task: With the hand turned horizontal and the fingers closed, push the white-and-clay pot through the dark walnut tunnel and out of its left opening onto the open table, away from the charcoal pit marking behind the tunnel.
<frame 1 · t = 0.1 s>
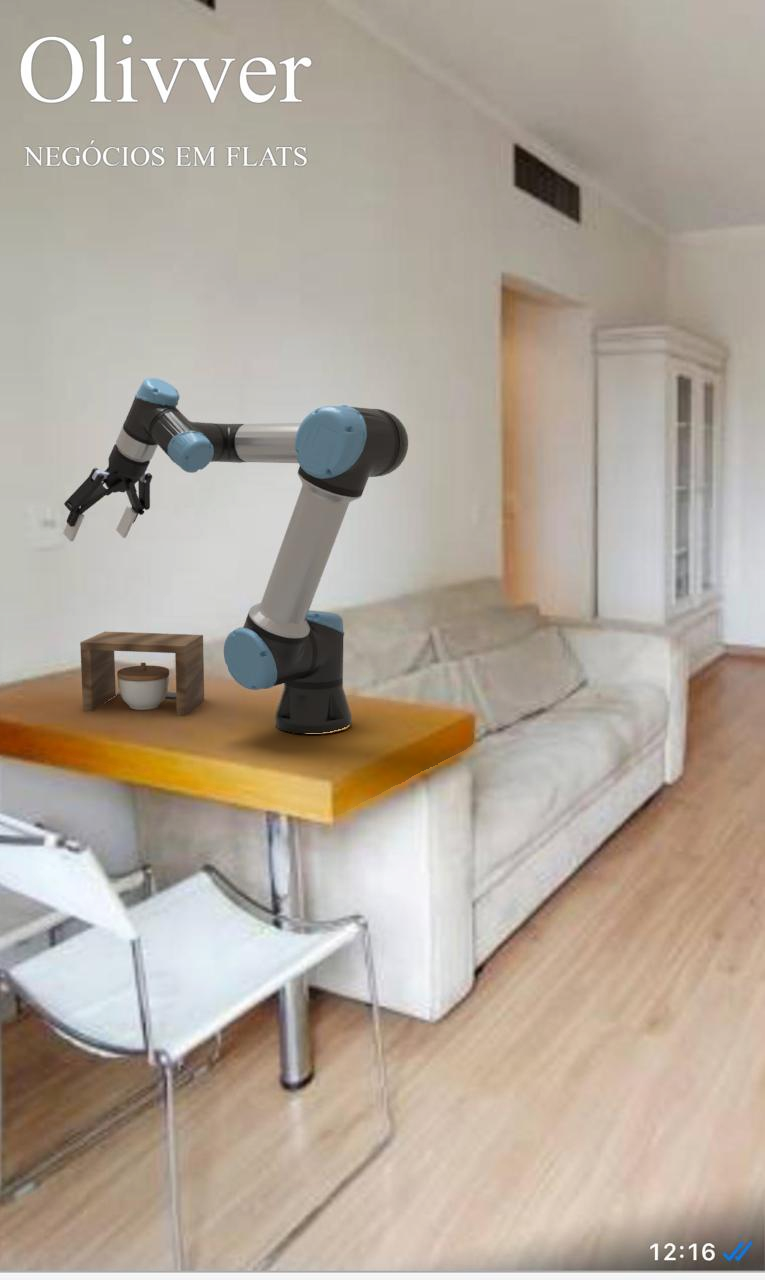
hand: (95, 535, 201), 36 cm above the table, tool tilted 35°, fingers open, 13 cm apart
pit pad: (158, 695, 213), on the table
tunnel: (145, 705, 205), on the table
lidded jar: (144, 707, 205), on the table
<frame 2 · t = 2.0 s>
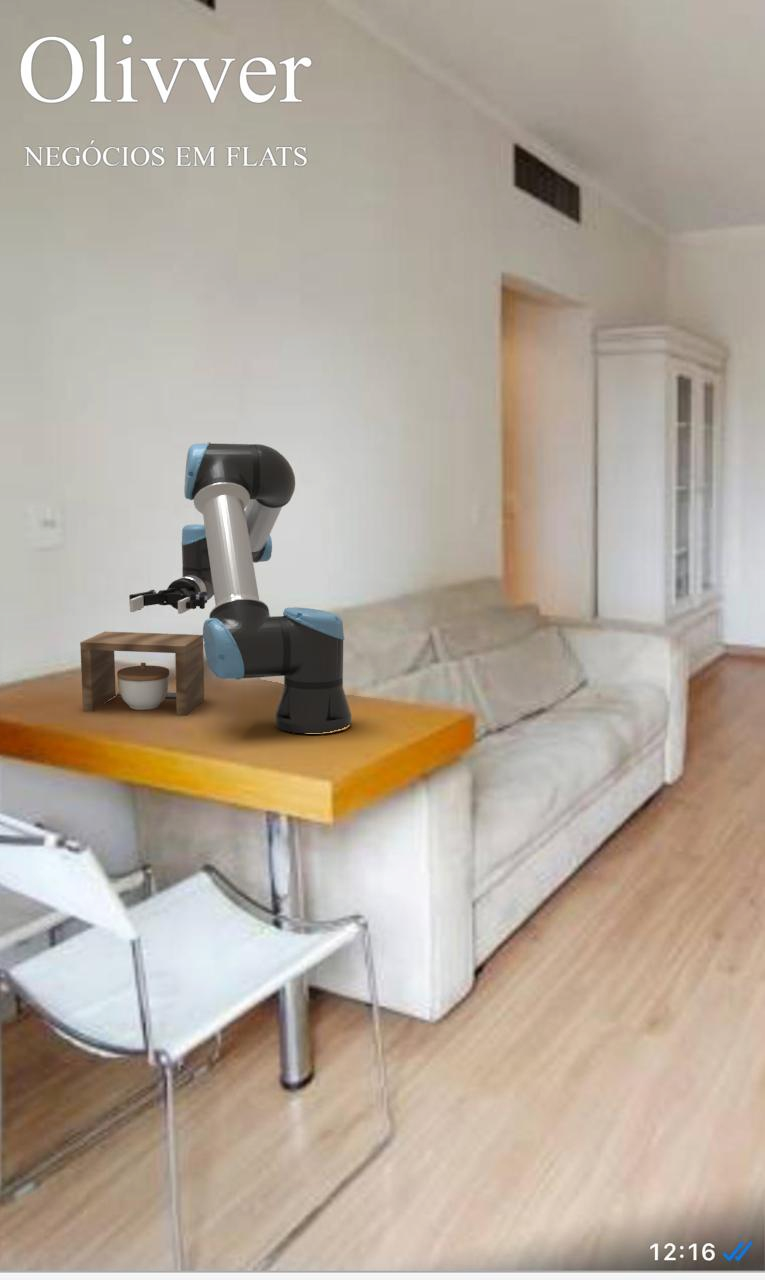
hand: (155, 606, 209), 20 cm above the table, tool horizontal, fingers open, 10 cm apart
nothing on the table moved.
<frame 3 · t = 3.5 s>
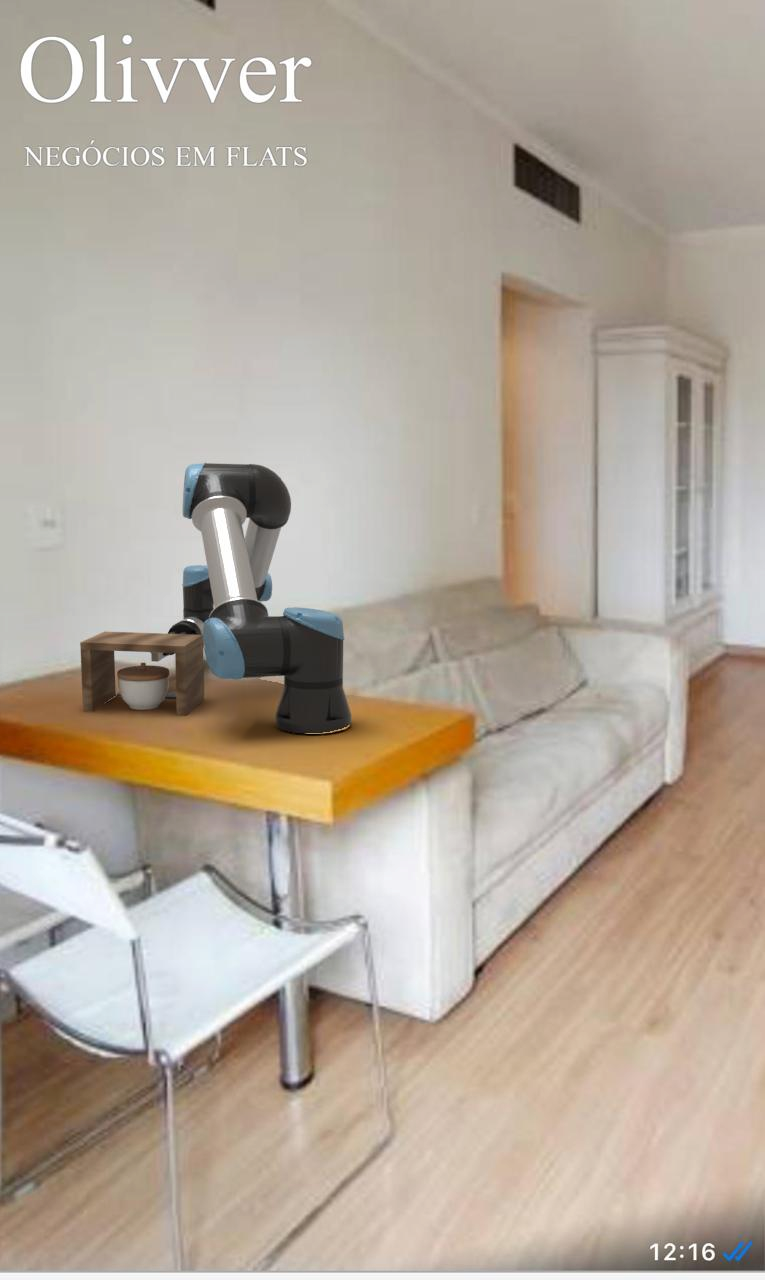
hand: (154, 655, 210), 9 cm above the table, tool horizontal, fingers closed
nothing on the table moved.
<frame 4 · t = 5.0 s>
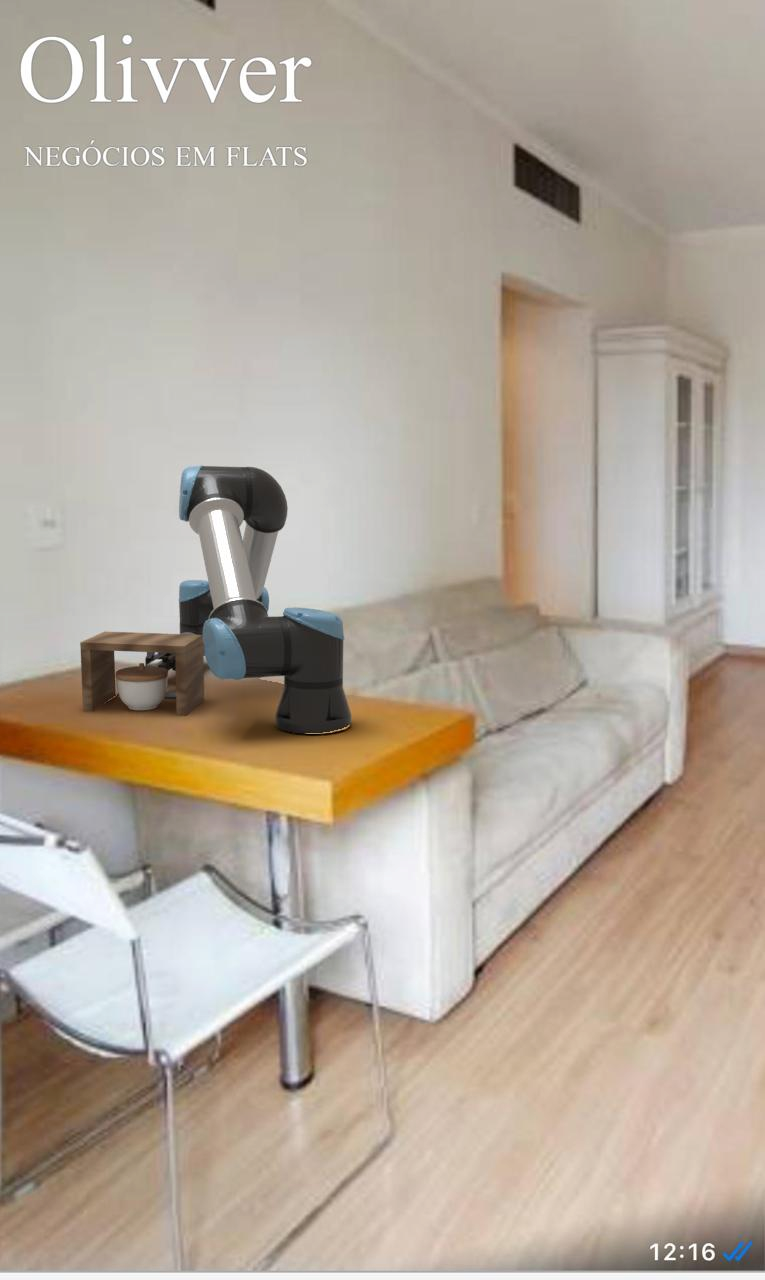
hand: (149, 671, 208), 6 cm above the table, tool horizontal, fingers closed
nothing on the table moved.
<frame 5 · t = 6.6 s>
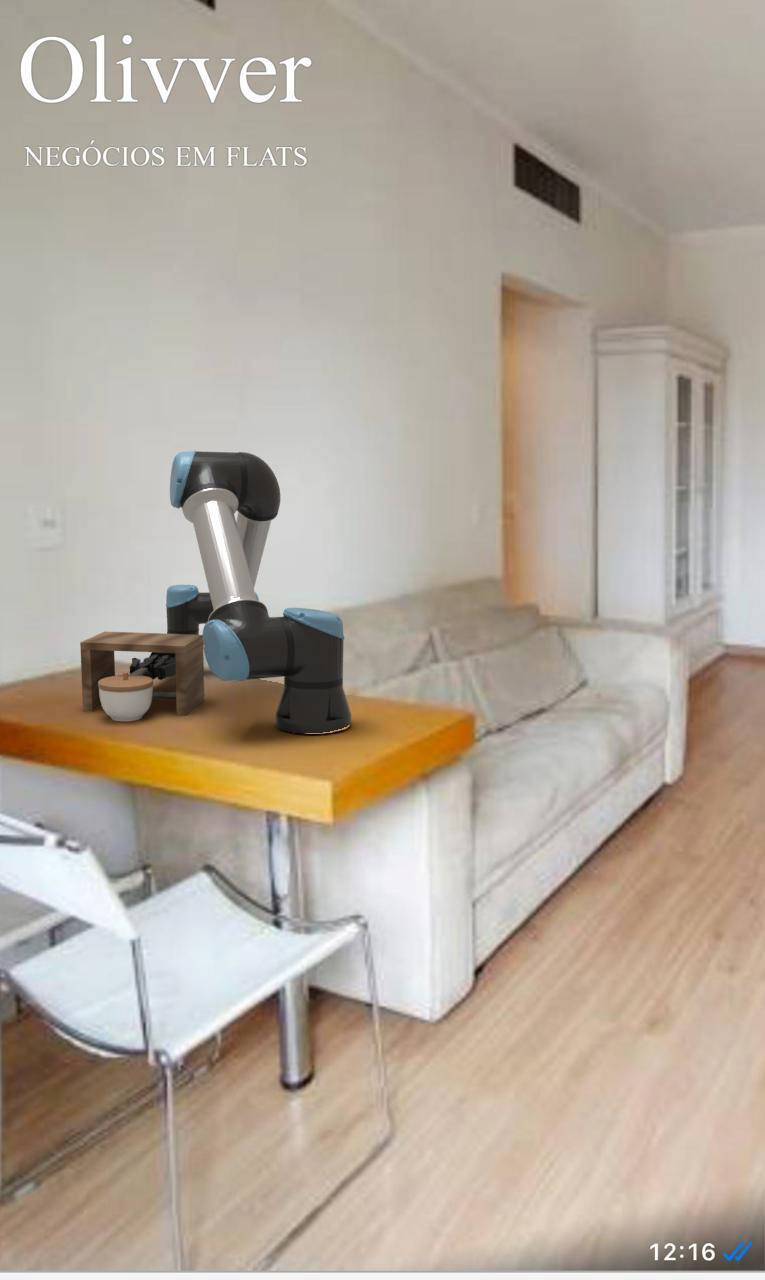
hand: (133, 680, 200), 6 cm above the table, tool horizontal, fingers closed
lidded jar: (127, 718, 195), on the table, touching gripper
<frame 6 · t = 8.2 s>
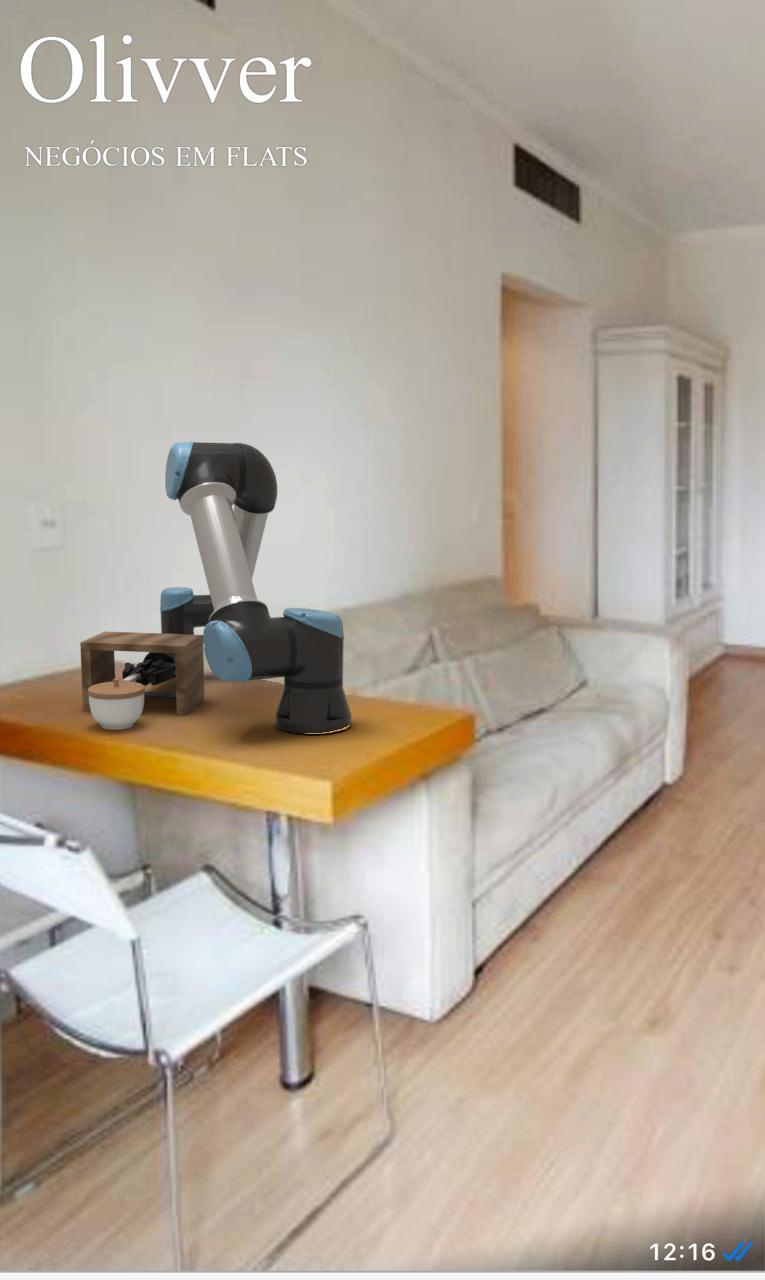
hand: (126, 686, 194), 7 cm above the table, tool horizontal, fingers closed
lidded jar: (117, 726, 189), on the table, touching gripper
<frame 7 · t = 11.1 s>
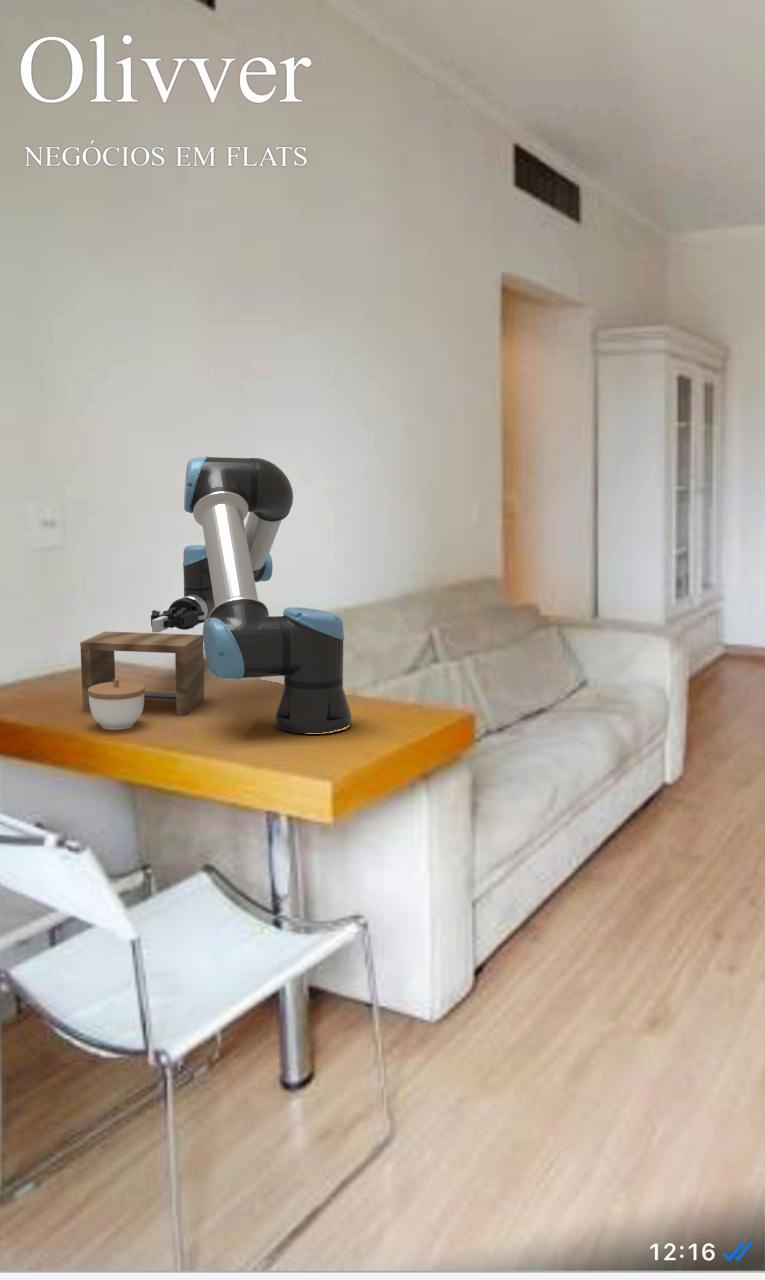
hand: (155, 626, 211), 16 cm above the table, tool horizontal, fingers closed
lidded jar: (117, 726, 189), on the table
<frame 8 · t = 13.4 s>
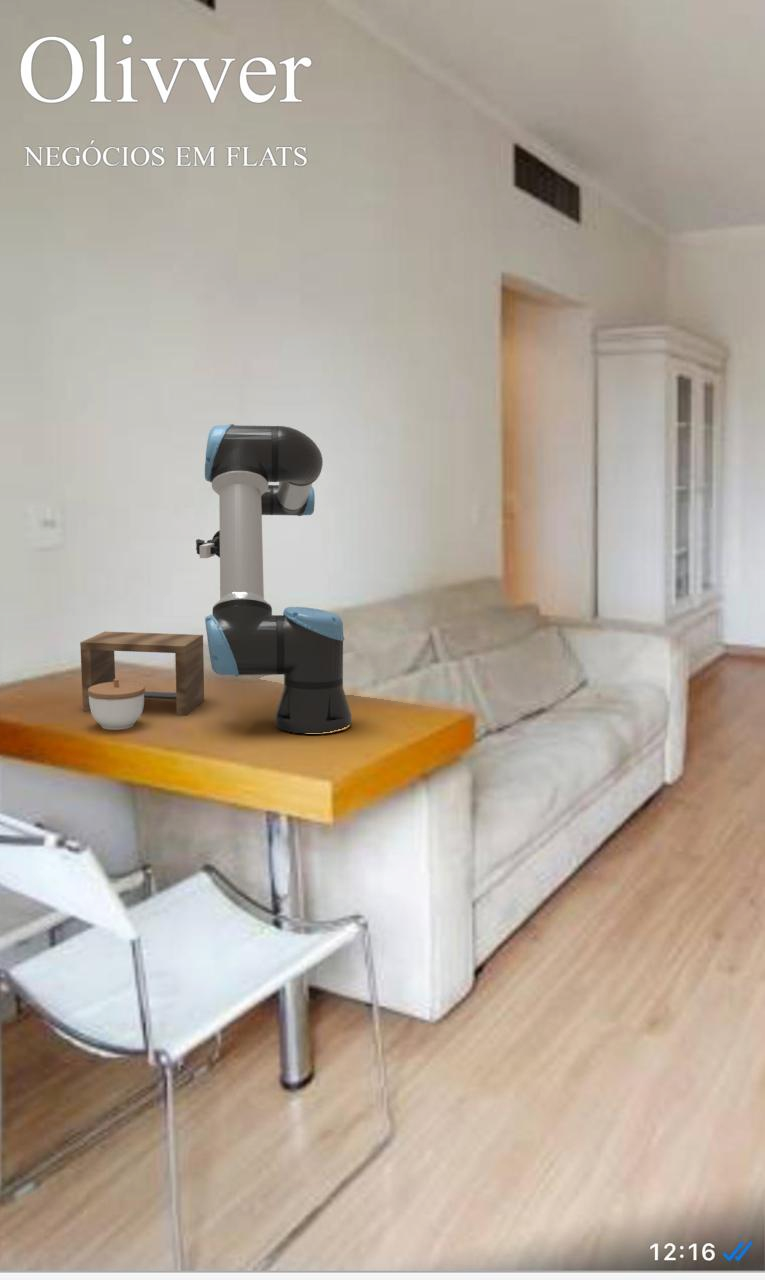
hand: (202, 552, 209), 32 cm above the table, tool horizontal, fingers closed
nothing on the table moved.
at the end: lidded jar inside the target area (0.4 cm from its centre), on the table; lidded jar tilted 0° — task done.
